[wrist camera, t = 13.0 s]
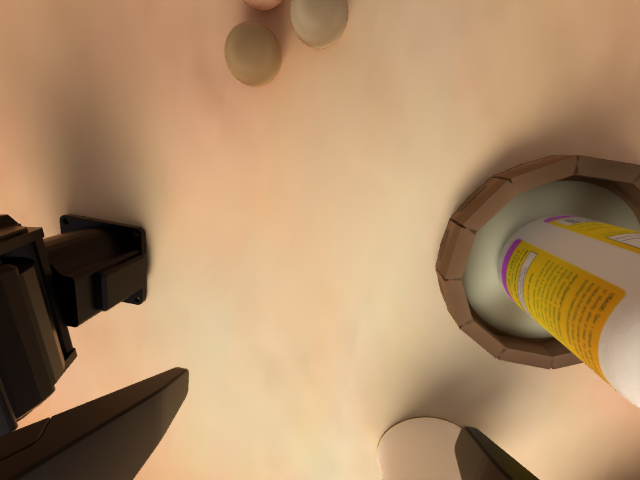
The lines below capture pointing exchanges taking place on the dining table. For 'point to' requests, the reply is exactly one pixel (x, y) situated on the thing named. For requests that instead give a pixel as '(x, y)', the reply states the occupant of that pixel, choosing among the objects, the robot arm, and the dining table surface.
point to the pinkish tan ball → (263, 4)
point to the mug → (419, 450)
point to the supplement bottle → (581, 291)
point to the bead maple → (319, 21)
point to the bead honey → (252, 54)
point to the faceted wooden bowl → (501, 223)
